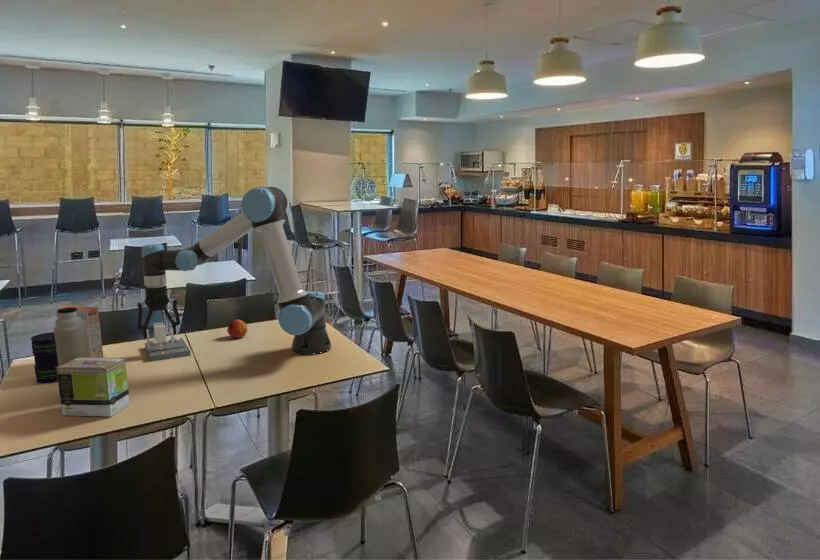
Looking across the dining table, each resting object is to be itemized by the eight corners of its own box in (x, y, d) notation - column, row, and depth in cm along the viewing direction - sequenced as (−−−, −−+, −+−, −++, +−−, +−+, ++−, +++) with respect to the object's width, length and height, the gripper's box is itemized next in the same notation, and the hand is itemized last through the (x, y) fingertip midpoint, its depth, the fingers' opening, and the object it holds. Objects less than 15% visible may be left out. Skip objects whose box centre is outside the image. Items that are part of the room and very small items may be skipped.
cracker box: (105, 362, 211) (99, 306, 207) (91, 367, 205) (84, 310, 201) (76, 358, 215) (70, 304, 211) (61, 363, 209) (55, 307, 206)
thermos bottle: (56, 402, 173) (45, 311, 168) (70, 392, 181) (59, 305, 176) (84, 401, 174) (74, 311, 169) (96, 391, 182) (87, 305, 177)
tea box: (131, 404, 171) (126, 356, 169) (110, 418, 161) (105, 367, 159) (83, 402, 173) (78, 355, 170) (60, 416, 163) (54, 366, 160)
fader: (167, 350, 216) (165, 325, 215) (157, 352, 215) (155, 327, 213) (165, 346, 221) (163, 322, 220) (155, 347, 220) (153, 323, 218)
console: (190, 355, 218) (189, 346, 217) (150, 361, 211) (149, 352, 210) (182, 342, 235) (181, 334, 234) (145, 347, 228) (144, 339, 228)
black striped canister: (29, 381, 191) (23, 338, 189) (57, 372, 200) (52, 330, 197) (48, 385, 187) (43, 341, 185) (76, 376, 196) (72, 333, 193)
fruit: (227, 336, 245) (226, 317, 243) (247, 334, 247) (246, 316, 246) (227, 341, 237) (226, 322, 236) (248, 339, 240) (247, 320, 238)
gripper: (183, 281, 222) (187, 338, 226) (124, 286, 212) (130, 346, 216) (186, 284, 215) (191, 343, 219) (125, 290, 205) (131, 351, 209)
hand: (160, 344), depth 218 cm, fingers open, 8 cm apart
